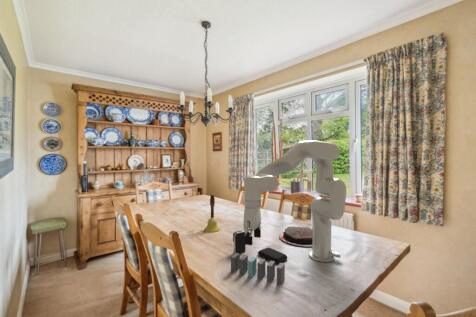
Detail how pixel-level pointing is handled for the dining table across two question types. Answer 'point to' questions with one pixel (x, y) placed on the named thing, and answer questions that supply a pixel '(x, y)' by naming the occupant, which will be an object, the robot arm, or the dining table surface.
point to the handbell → (212, 219)
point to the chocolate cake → (297, 236)
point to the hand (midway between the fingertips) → (253, 240)
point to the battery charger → (239, 241)
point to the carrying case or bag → (272, 255)
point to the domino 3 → (252, 267)
